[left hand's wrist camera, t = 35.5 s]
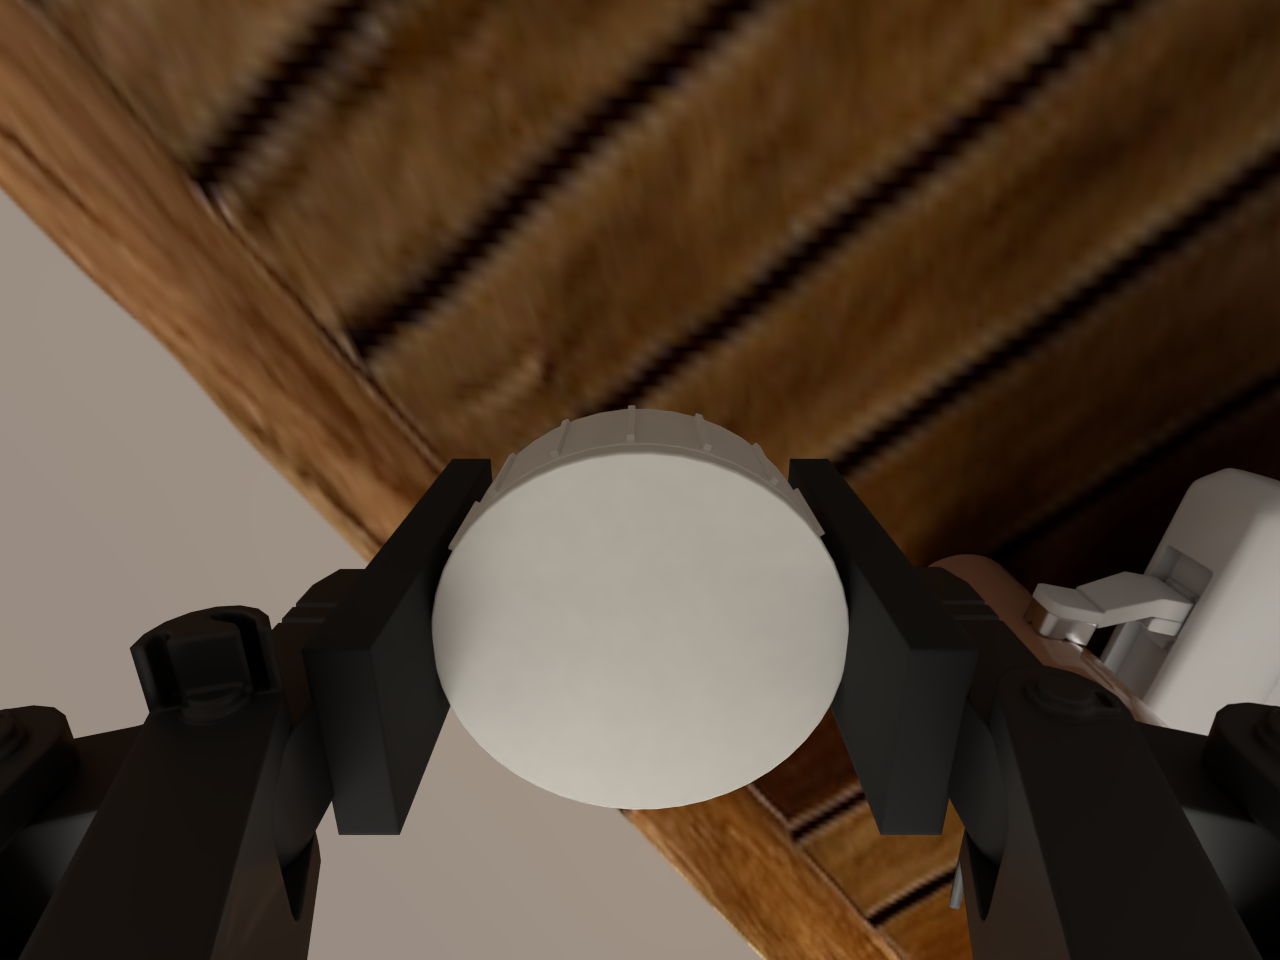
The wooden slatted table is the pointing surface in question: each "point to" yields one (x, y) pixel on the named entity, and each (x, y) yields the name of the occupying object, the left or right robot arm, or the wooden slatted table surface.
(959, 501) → the wooden slatted table surface
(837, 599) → the lid
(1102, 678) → the jar
